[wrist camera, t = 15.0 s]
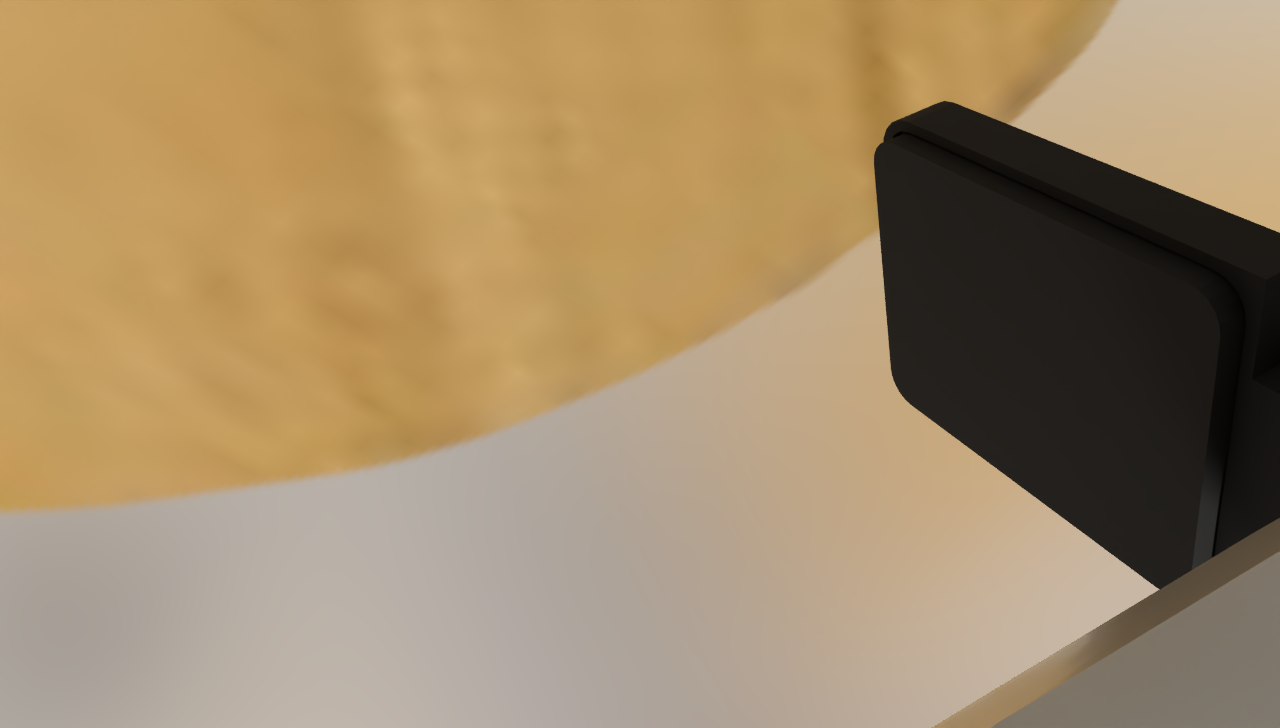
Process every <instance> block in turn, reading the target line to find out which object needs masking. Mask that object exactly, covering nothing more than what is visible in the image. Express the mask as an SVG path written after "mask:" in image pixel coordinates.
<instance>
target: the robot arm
mask: <svg viewBox="0 0 1280 728" xmlns="http://www.w3.org/2000/svg"><path fill="white" fill-rule="evenodd" d="M874 169H875V181H876V193H877V205H878V217H879V229H880V241H881V253H882V265H883V277H884V289H885V302H886V314H887V325H888V336H889V349H890V362H891V371H892V376H893V379H894V382H895V384H896V386H897V388H898V390H899V392H900V393H901V394H902V396H903V397H904V398H905V400H906V401H908V402H909V403H910V404H911V405H912V406H913V407H915V408H916V409H918V410H919V411H920V412H922V413H923V414H924V415H926V416H927V417H928V418H930V419H931V420H932V421H934V422H935V423H936V424H938V425H939V426H940V427H942V428H943V429H944V430H946V431H947V432H948V433H950V434H951V435H952V436H954V437H955V438H957V439H958V440H959V441H961V442H962V443H963V444H964V445H966V446H967V447H968V448H970V449H971V450H973V451H974V452H975V453H977V454H978V455H979V456H981V457H982V458H983V459H985V460H986V461H987V462H989V463H990V464H991V465H993V466H994V467H996V468H997V469H998V470H999V471H1001V472H1002V473H1004V474H1005V475H1006V476H1007V477H1009V478H1011V479H1012V480H1013V481H1014V482H1016V483H1017V484H1018V485H1020V486H1021V487H1022V488H1024V489H1025V490H1026V491H1028V492H1029V493H1030V494H1032V495H1033V496H1034V497H1036V498H1037V499H1039V500H1040V501H1041V502H1042V503H1044V504H1045V505H1046V506H1048V507H1049V508H1051V509H1052V510H1053V511H1055V512H1056V513H1057V514H1059V515H1060V516H1061V517H1063V518H1064V519H1065V520H1067V521H1068V522H1069V523H1071V524H1072V525H1073V526H1075V527H1076V528H1077V529H1079V530H1080V531H1082V532H1083V533H1084V534H1086V535H1087V536H1088V537H1090V538H1091V539H1092V540H1094V541H1095V542H1096V543H1098V544H1099V545H1100V546H1102V547H1103V548H1104V549H1106V550H1107V551H1108V552H1110V553H1111V554H1112V555H1114V556H1115V557H1116V558H1118V559H1119V560H1120V561H1122V562H1123V563H1125V564H1126V565H1127V566H1129V567H1130V568H1131V569H1133V570H1134V571H1135V572H1137V573H1138V574H1139V575H1141V576H1142V577H1143V578H1145V579H1146V580H1147V581H1149V582H1150V583H1151V584H1153V585H1154V586H1155V587H1157V588H1159V589H1160V590H1158V591H1157V592H1155V593H1153V594H1152V595H1150V596H1148V597H1147V598H1145V599H1144V600H1142V601H1140V602H1138V603H1137V604H1135V605H1134V606H1132V607H1130V608H1129V609H1127V610H1125V611H1124V612H1122V613H1120V614H1119V615H1117V616H1115V617H1114V618H1112V619H1111V620H1109V621H1107V622H1105V623H1104V624H1102V625H1100V626H1099V627H1097V628H1096V629H1094V630H1092V631H1091V632H1089V633H1087V634H1086V635H1084V636H1082V637H1081V638H1079V639H1077V640H1076V641H1074V642H1072V643H1071V644H1069V645H1068V646H1066V647H1064V648H1062V649H1061V650H1059V651H1057V652H1056V653H1054V654H1053V655H1051V656H1050V657H1048V658H1046V659H1044V660H1043V661H1041V662H1039V663H1038V664H1036V665H1034V666H1033V667H1031V668H1030V669H1028V670H1026V671H1024V672H1023V673H1021V674H1020V675H1018V676H1016V677H1014V678H1013V679H1011V680H1010V681H1008V682H1007V683H1005V684H1003V685H1001V686H1000V687H998V688H996V689H995V690H993V691H991V692H990V693H988V694H987V695H985V696H983V697H982V698H980V699H978V700H977V701H975V702H973V703H972V704H970V705H969V706H967V707H965V708H964V709H962V710H960V711H959V712H957V713H956V714H954V715H952V716H950V717H949V718H947V719H946V720H944V721H942V722H941V723H939V724H937V725H936V726H935V727H932V728H1280V233H1279V232H1276V231H1274V230H1271V229H1268V228H1266V227H1264V226H1261V225H1259V224H1256V223H1254V222H1251V221H1249V220H1246V219H1244V218H1241V217H1239V216H1236V215H1234V214H1231V213H1228V212H1226V211H1224V210H1221V209H1218V208H1216V207H1214V206H1211V205H1209V204H1206V203H1203V202H1201V201H1199V200H1196V199H1194V198H1191V197H1188V196H1186V195H1184V194H1181V193H1178V192H1176V191H1173V190H1171V189H1169V188H1166V187H1163V186H1161V185H1158V184H1156V183H1153V182H1151V181H1148V180H1146V179H1143V178H1141V177H1138V176H1136V175H1133V174H1131V173H1128V172H1126V171H1123V170H1121V169H1118V168H1116V167H1113V166H1111V165H1108V164H1106V163H1103V162H1101V161H1098V160H1096V159H1093V158H1091V157H1088V156H1086V155H1083V154H1081V153H1078V152H1076V151H1073V150H1071V149H1068V148H1066V147H1063V146H1061V145H1058V144H1056V143H1053V142H1051V141H1048V140H1046V139H1043V138H1041V137H1038V136H1036V135H1033V134H1031V133H1028V132H1026V131H1023V130H1021V129H1018V128H1016V127H1013V126H1011V125H1008V124H1006V123H1003V122H1001V121H998V120H996V119H993V118H991V117H988V116H986V115H983V114H981V113H978V112H976V111H973V110H971V109H968V108H966V107H963V106H961V105H958V104H956V103H953V102H947V101H943V102H940V103H937V104H934V105H932V106H930V107H927V108H925V109H923V110H920V111H918V112H916V113H913V114H911V115H909V116H906V117H904V118H901V119H899V120H897V121H894V122H892V123H891V124H890V125H889V127H888V128H887V129H886V132H885V136H884V142H883V143H881V144H880V145H879V146H878V147H877V148H876V151H875V155H874Z"/></svg>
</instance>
